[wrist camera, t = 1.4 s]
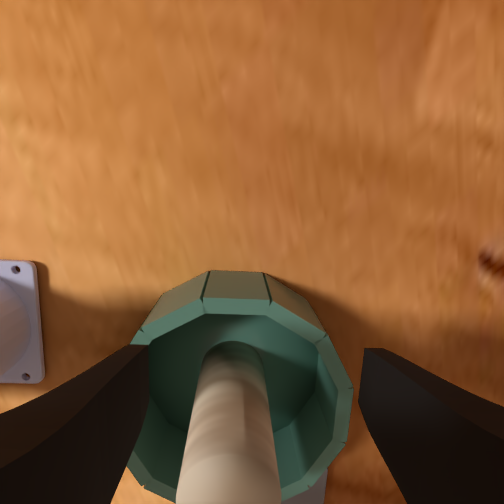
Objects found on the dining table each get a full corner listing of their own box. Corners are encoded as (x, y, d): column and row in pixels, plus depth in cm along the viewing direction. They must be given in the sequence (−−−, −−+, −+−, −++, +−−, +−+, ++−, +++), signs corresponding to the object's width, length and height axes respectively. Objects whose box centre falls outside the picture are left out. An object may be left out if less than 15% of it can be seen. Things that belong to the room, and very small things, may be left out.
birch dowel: (200, 396, 22) (175, 542, 13) (201, 339, 21) (176, 454, 12) (261, 397, 22) (277, 541, 13) (265, 341, 21) (285, 455, 12)
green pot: (137, 443, 23) (111, 512, 18) (134, 267, 21) (102, 293, 16) (317, 445, 24) (337, 513, 19) (335, 275, 21) (364, 303, 16)
